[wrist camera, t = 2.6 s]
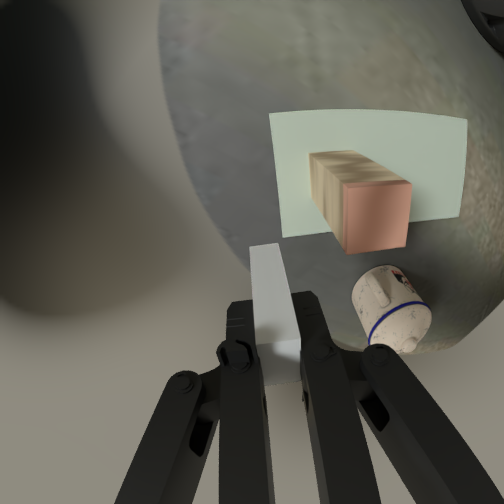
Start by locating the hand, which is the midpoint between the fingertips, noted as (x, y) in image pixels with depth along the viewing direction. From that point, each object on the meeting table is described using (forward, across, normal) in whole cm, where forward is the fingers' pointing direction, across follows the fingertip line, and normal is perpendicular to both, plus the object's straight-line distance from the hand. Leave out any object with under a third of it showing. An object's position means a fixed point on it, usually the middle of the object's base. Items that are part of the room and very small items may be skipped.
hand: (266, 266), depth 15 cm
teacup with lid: (+16, +15, -16) cm, 27 cm away
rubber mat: (+16, +16, 0) cm, 22 cm away
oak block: (+16, +8, 0) cm, 18 cm away
